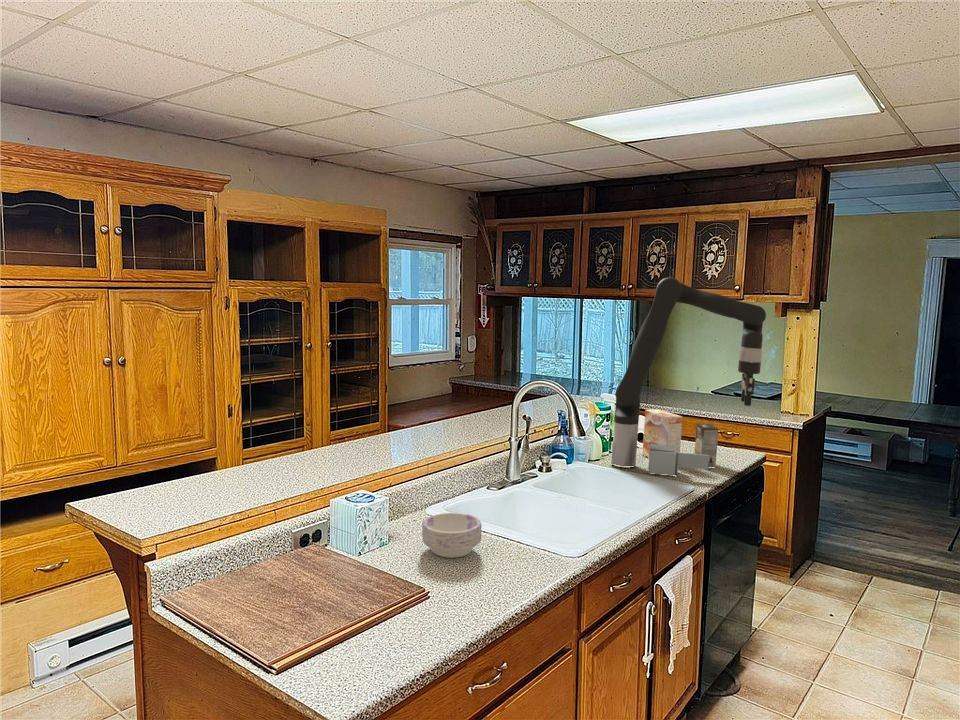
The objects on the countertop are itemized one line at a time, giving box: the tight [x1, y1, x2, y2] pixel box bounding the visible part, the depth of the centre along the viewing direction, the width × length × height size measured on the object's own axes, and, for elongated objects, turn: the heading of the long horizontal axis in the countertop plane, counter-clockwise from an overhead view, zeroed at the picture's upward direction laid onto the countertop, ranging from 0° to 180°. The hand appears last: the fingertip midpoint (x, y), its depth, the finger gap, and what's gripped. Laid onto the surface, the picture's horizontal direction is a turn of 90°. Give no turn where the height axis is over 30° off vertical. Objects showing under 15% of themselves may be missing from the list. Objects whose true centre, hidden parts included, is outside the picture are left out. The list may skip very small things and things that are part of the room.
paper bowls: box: [421, 512, 483, 559], centre depth 172 cm, size 15×15×8 cm
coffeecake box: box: [642, 408, 683, 457], centre depth 271 cm, size 15×7×20 cm, turn 25°
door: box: [648, 450, 709, 477], centre depth 246 cm, size 21×1×9 cm, turn 75°
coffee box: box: [693, 423, 719, 468], centre depth 265 cm, size 9×6×16 cm
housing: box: [648, 444, 675, 466], centre depth 253 cm, size 9×9×10 cm
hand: (745, 403), depth 246 cm, fingers open, 8 cm apart
